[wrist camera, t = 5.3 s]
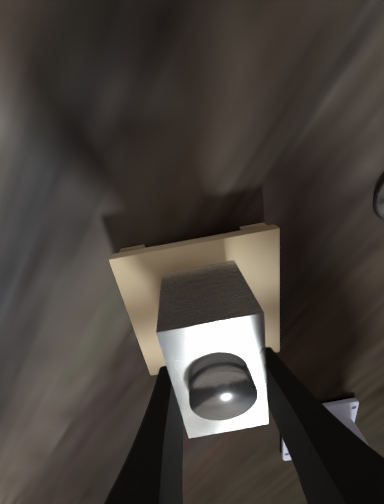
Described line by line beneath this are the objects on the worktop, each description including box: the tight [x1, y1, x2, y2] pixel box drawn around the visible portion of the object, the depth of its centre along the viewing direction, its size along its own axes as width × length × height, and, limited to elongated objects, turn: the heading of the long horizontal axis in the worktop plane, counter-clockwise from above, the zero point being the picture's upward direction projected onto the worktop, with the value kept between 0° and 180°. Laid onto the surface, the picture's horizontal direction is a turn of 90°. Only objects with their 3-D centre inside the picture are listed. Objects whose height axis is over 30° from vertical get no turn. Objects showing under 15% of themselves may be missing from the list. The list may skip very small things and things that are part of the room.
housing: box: [156, 260, 269, 438], centre depth 11 cm, size 4×7×5 cm, turn 9°
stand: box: [109, 222, 280, 375], centre depth 16 cm, size 10×10×2 cm
